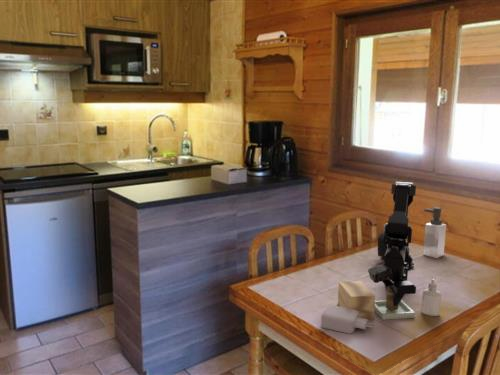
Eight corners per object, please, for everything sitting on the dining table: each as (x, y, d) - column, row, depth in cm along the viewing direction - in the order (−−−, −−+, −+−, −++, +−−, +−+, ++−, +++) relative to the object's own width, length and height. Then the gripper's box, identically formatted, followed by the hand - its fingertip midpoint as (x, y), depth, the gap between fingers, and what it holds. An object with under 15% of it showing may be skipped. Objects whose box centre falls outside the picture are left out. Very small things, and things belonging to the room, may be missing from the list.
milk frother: (385, 253, 210) (387, 222, 207) (420, 261, 201) (423, 228, 198) (373, 262, 199) (375, 229, 196) (410, 270, 190) (413, 236, 187)
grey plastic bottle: (369, 340, 136) (320, 328, 142) (375, 326, 144) (329, 316, 150) (370, 325, 135) (321, 314, 141) (376, 312, 143) (329, 302, 149)
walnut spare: (394, 304, 155) (396, 284, 154) (400, 309, 151) (402, 289, 150) (383, 304, 155) (384, 285, 154) (388, 310, 151) (390, 290, 150)
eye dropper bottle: (434, 318, 149) (437, 283, 146) (418, 312, 153) (421, 278, 151) (441, 314, 151) (444, 280, 149) (426, 308, 156) (428, 275, 153)
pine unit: (359, 301, 161) (360, 280, 159) (373, 318, 148) (375, 295, 147) (337, 303, 159) (338, 281, 158) (350, 320, 147) (351, 296, 146)
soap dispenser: (425, 250, 215) (428, 204, 211) (443, 255, 209) (447, 208, 205) (418, 253, 211) (422, 206, 207) (436, 258, 205) (441, 210, 200)
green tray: (400, 304, 159) (400, 299, 159) (414, 317, 149) (415, 312, 149) (370, 305, 158) (370, 301, 157) (382, 319, 148) (382, 314, 148)
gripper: (361, 250, 158) (358, 292, 161) (384, 270, 140) (381, 317, 143) (391, 248, 159) (389, 291, 162) (418, 268, 141) (414, 315, 144)
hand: (392, 303), depth 153 cm, fingers closed on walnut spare, 4 cm apart
